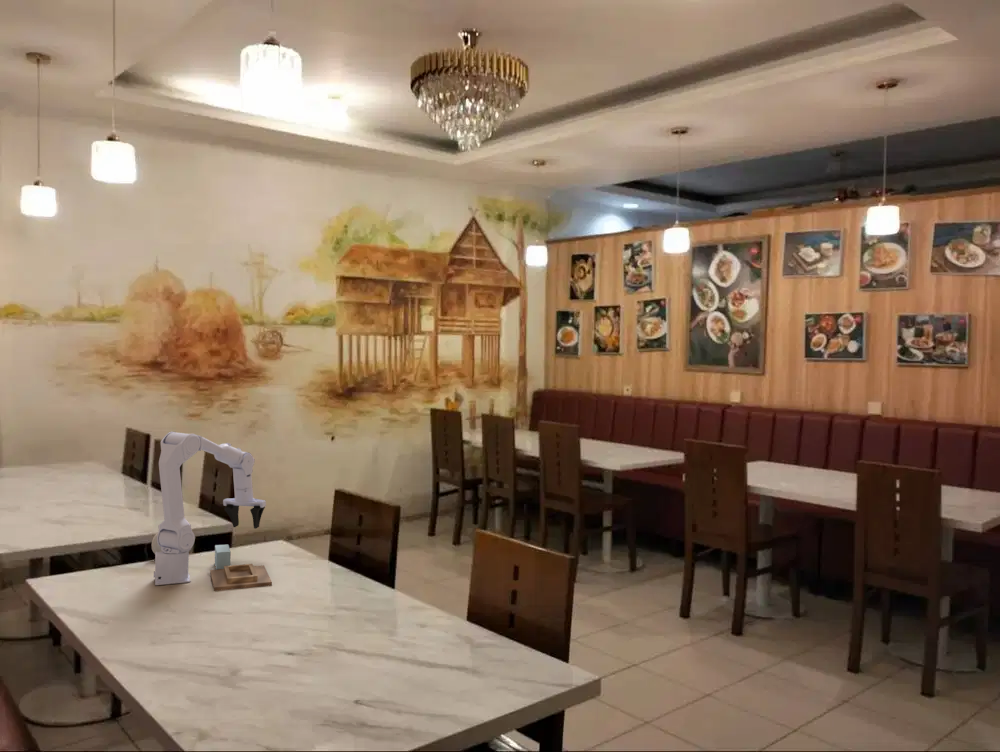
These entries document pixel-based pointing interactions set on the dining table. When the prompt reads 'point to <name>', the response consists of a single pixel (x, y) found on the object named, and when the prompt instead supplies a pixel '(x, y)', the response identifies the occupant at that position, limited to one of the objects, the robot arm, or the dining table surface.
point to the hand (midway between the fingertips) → (246, 526)
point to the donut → (155, 545)
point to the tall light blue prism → (222, 556)
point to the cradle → (239, 577)
